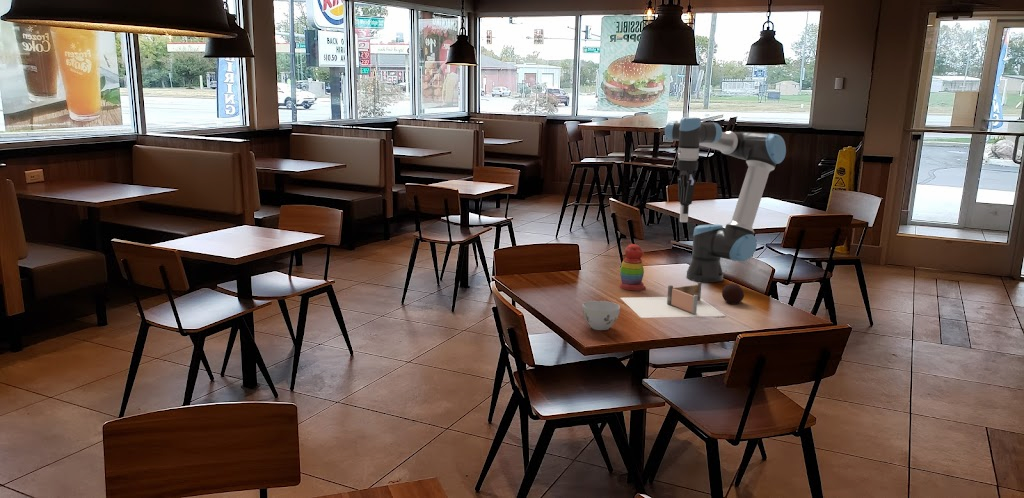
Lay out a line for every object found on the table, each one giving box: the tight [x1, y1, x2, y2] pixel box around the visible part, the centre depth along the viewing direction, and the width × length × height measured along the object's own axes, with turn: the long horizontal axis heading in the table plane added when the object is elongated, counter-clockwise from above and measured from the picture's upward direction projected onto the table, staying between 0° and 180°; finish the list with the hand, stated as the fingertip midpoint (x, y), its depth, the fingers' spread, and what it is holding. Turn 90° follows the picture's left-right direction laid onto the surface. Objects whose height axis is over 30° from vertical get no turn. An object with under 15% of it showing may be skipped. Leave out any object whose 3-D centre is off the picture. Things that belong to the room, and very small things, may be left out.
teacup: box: [581, 300, 621, 331], centre depth 254 cm, size 15×12×8 cm
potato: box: [721, 283, 745, 305], centre depth 286 cm, size 8×9×8 cm
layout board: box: [620, 296, 727, 319], centre depth 279 cm, size 31×26×1 cm
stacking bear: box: [619, 242, 647, 292], centre depth 305 cm, size 11×10×18 cm
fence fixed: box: [666, 281, 703, 305], centre depth 284 cm, size 16×2×7 cm, turn 118°
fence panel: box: [671, 289, 698, 314], centre depth 274 cm, size 13×1×7 cm, turn 27°
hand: (683, 221), depth 289 cm, fingers closed
